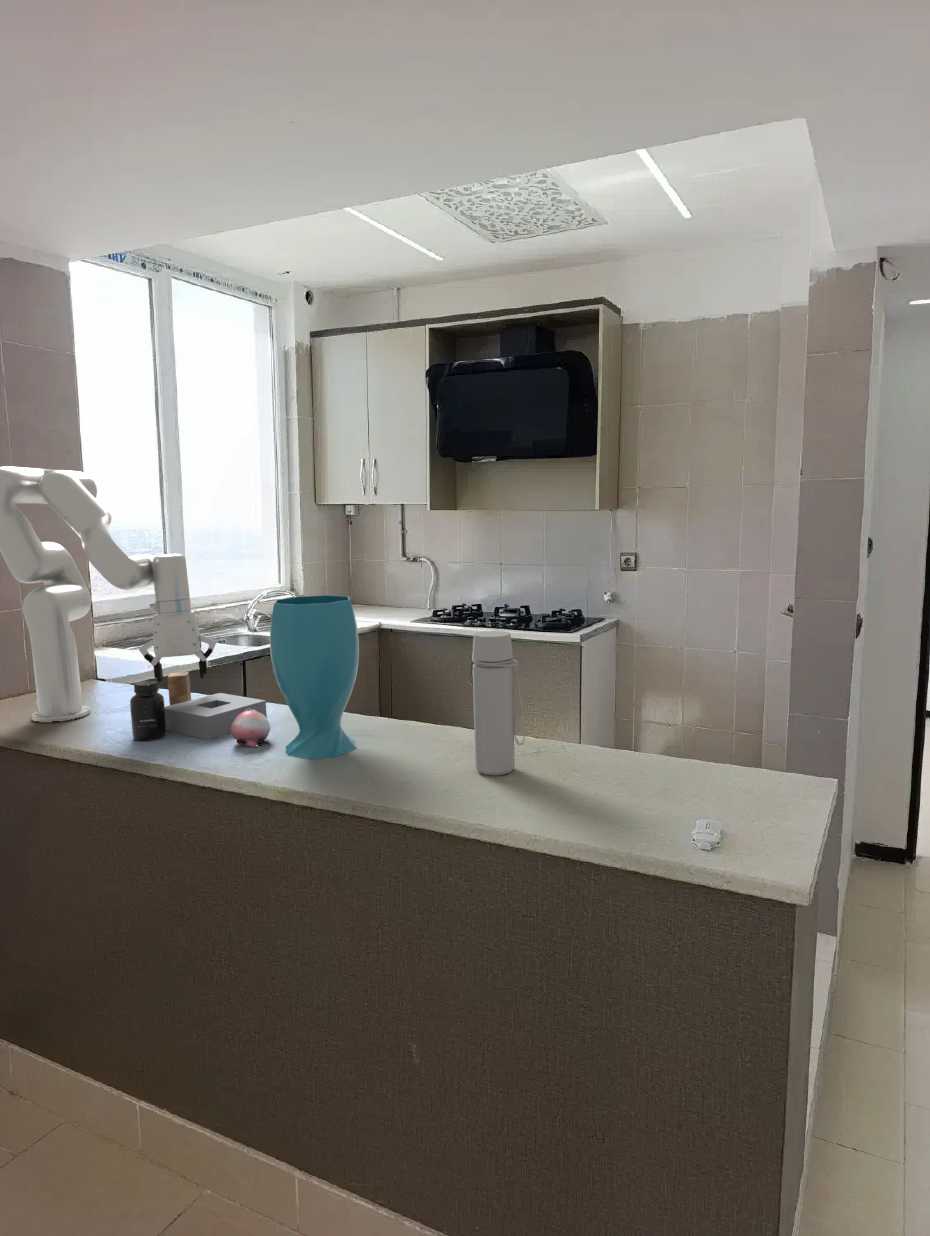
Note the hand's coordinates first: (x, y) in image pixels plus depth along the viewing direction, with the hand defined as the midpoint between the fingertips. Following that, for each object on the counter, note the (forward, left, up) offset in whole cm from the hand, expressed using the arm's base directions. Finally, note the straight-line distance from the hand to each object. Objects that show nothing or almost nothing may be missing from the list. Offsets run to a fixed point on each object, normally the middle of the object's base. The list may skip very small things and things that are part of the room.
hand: (181, 678), depth 190 cm
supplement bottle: (+9, -15, -9) cm, 20 cm away
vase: (+47, -2, -9) cm, 48 cm away
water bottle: (+86, +4, -9) cm, 87 cm away
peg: (-1, 0, -9) cm, 9 cm away
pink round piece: (+32, -7, -9) cm, 34 cm away
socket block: (+14, -2, -9) cm, 17 cm away
